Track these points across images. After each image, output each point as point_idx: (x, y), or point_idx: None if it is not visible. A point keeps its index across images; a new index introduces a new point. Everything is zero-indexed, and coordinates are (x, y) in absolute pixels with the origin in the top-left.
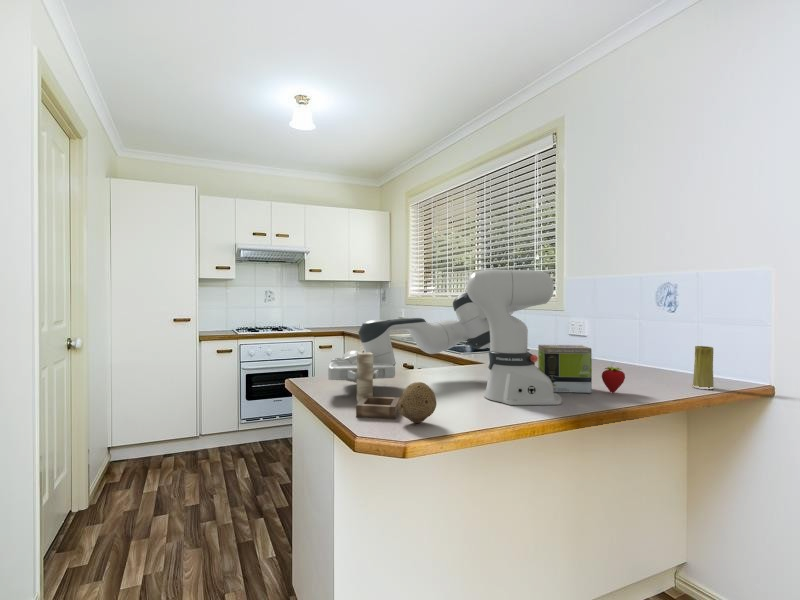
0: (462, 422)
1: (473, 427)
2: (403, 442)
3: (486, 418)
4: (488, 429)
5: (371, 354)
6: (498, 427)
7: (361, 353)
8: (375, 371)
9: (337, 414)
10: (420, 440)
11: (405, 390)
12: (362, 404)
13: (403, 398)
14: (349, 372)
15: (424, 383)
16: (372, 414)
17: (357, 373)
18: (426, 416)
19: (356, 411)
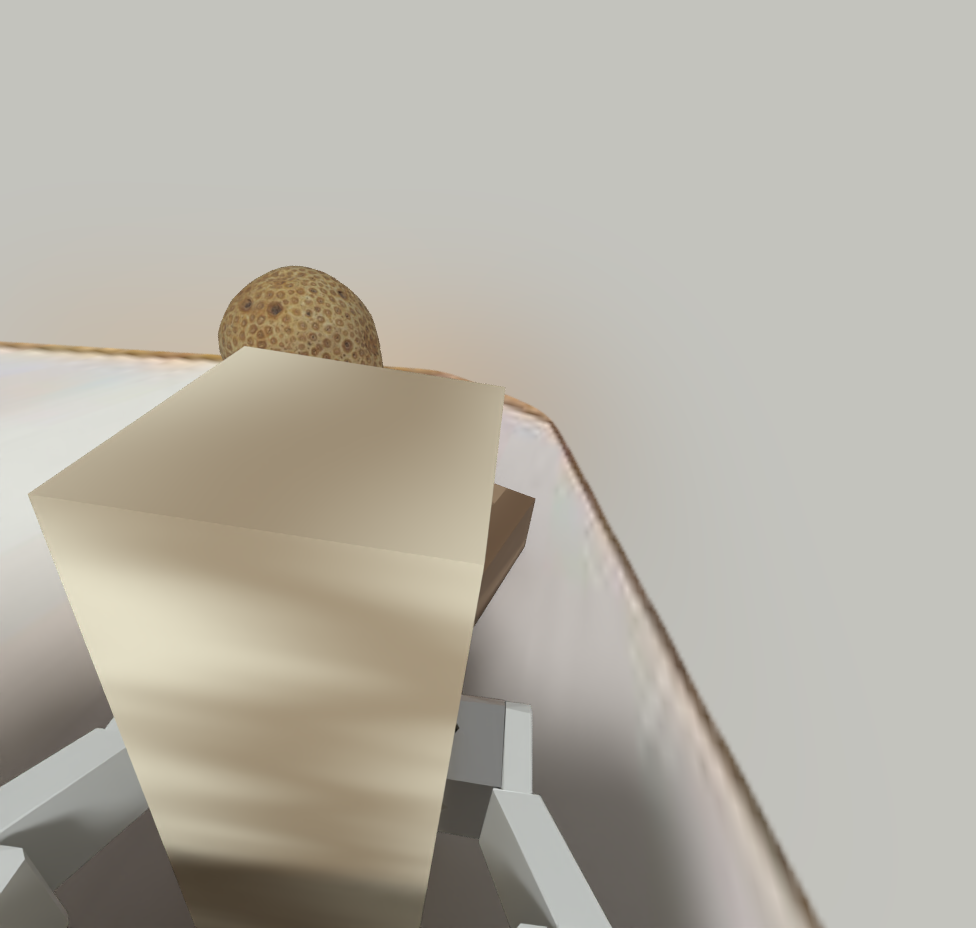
0: (150, 395)
1: (173, 369)
2: (443, 374)
3: (12, 391)
4: (152, 353)
5: (276, 354)
6: (103, 351)
7: (420, 436)
8: (101, 740)
9: (618, 611)
10: (396, 369)
11: (357, 314)
12: (500, 499)
13: (377, 337)
14: (580, 886)
15: (273, 270)
16: None
17: (466, 697)
18: None
19: (528, 523)
